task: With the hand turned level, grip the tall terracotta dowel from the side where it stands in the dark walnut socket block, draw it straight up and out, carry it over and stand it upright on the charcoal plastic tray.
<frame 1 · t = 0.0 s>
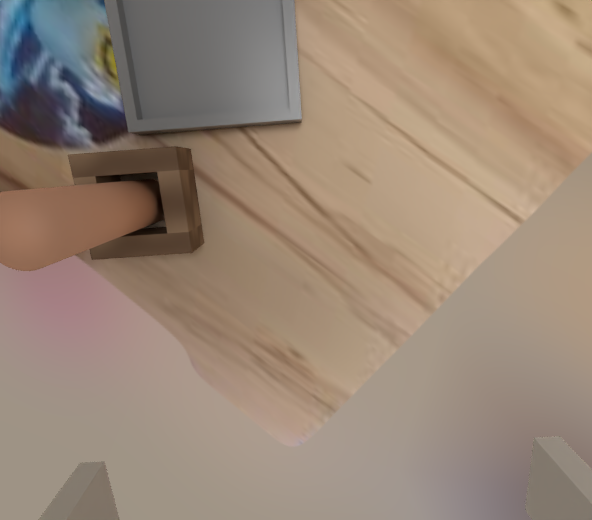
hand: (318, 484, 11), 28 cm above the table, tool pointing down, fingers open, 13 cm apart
dowel: (106, 211, 28), in the socket block
tray: (210, 49, 33), on the table
socket block: (151, 200, 36), on the table
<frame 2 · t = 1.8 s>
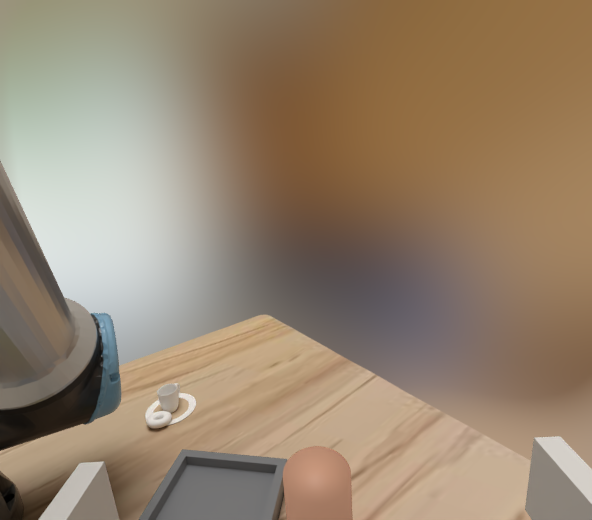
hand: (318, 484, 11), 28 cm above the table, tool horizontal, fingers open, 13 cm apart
teacup and saucer: (152, 417, 57), on the table
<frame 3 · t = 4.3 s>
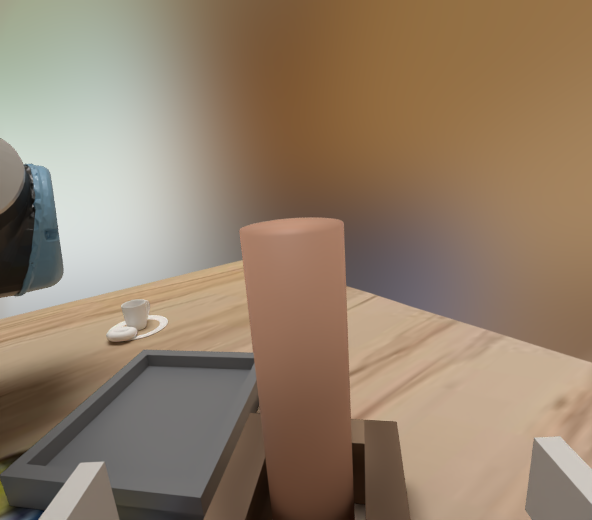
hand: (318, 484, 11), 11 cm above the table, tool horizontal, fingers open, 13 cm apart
teacup and saucer: (115, 336, 49), on the table
dowel: (305, 407, 17), in the socket block
tray: (168, 426, 30), on the table
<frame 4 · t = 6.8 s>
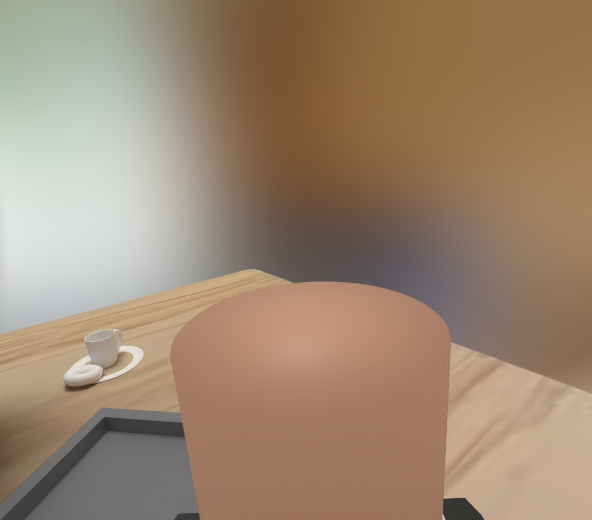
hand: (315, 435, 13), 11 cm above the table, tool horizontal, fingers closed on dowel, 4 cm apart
teacup and saucer: (78, 374, 40), on the table
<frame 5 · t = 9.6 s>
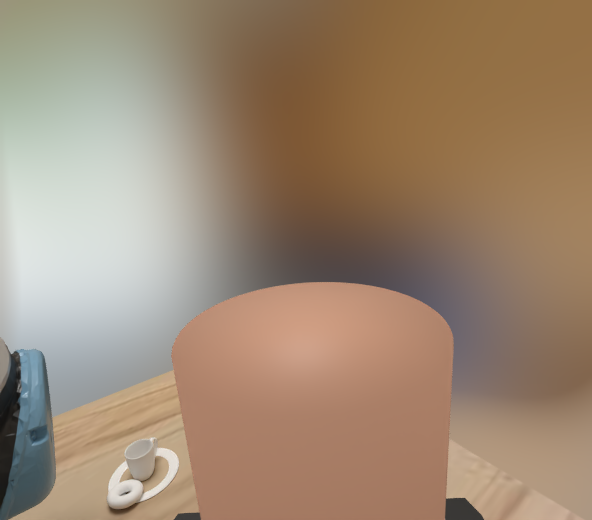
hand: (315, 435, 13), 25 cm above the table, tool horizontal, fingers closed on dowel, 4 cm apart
teacup and saucer: (118, 486, 42), on the table
when the fingers open (13 cm above the table, at t = 12.8 s): dowel stays where it is, resting on tray.
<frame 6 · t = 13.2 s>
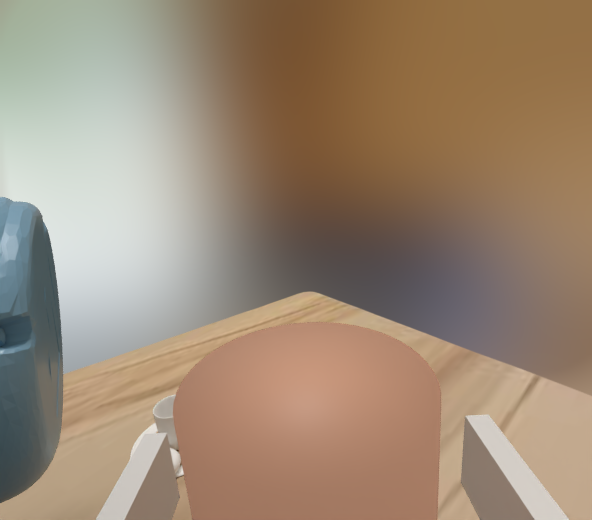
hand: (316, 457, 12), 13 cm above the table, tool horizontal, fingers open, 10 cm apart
teacup and saucer: (143, 457, 30), on the table
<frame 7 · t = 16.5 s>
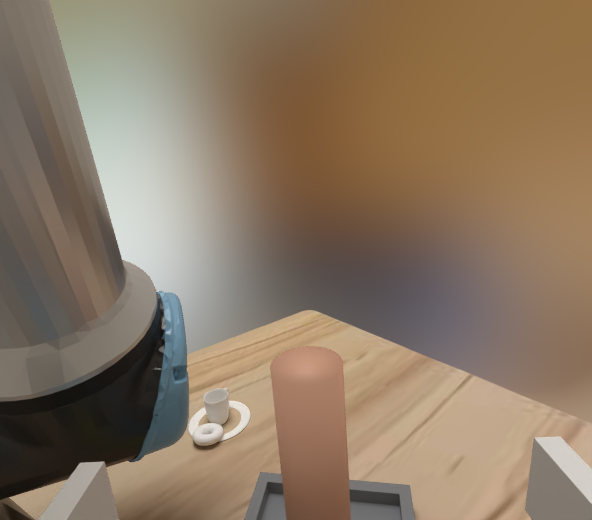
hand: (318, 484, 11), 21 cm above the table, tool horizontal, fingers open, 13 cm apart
teacup and saucer: (196, 430, 45), on the table
dowel: (316, 484, 23), in the tray, point 10 cm above the table
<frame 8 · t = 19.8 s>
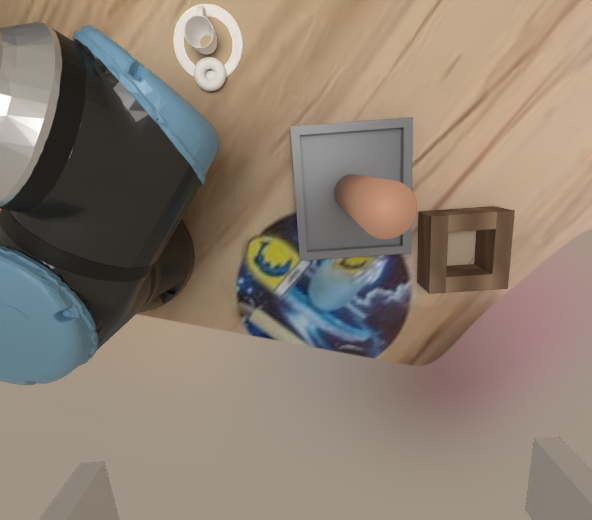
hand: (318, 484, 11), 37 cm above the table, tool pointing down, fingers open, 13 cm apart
teacup and saucer: (188, 61, 41), on the table
dowel: (365, 199, 35), in the tray, point 10 cm above the table
tray: (350, 191, 45), on the table
socket block: (454, 245, 46), on the table
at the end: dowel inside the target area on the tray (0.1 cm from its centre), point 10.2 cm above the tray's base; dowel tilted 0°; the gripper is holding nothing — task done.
